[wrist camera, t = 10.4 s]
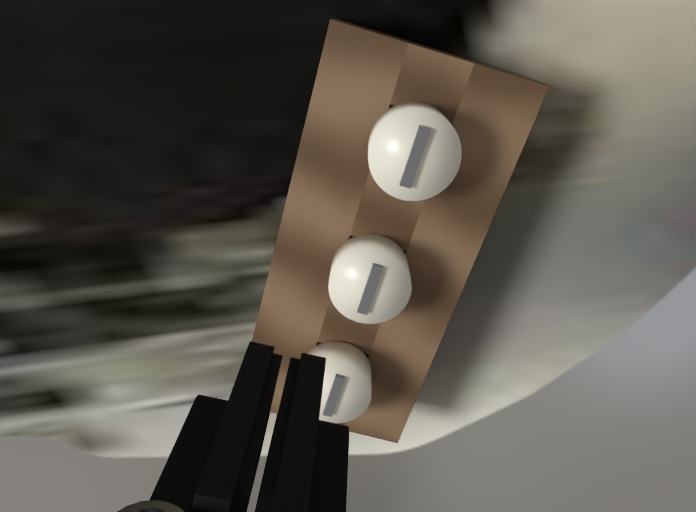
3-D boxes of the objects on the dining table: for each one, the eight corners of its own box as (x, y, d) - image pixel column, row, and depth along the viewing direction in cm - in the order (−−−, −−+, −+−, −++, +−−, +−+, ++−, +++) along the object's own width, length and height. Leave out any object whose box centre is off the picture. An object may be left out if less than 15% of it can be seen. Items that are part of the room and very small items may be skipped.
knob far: (316, 303, 38) (305, 357, 32) (379, 320, 39) (381, 377, 33) (300, 355, 40) (288, 416, 34) (360, 371, 41) (359, 433, 35)
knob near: (381, 81, 32) (383, 97, 26) (456, 104, 32) (476, 125, 26) (358, 157, 34) (356, 188, 28) (430, 177, 34) (443, 213, 28)
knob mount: (335, 18, 32) (330, 19, 27) (524, 76, 32) (549, 86, 28) (251, 361, 42) (236, 403, 38) (394, 397, 43) (397, 443, 39)
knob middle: (345, 203, 35) (340, 242, 29) (414, 222, 35) (423, 265, 29) (327, 265, 37) (319, 314, 31) (392, 282, 37) (397, 335, 31)
